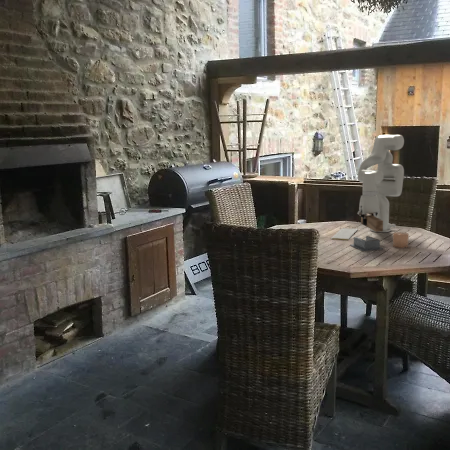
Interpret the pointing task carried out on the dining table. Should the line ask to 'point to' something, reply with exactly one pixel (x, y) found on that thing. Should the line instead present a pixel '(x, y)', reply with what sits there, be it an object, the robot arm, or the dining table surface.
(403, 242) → the brown round cylinder
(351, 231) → the baseboard molding
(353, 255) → the dining table surface
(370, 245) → the bracket
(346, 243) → the dining table surface
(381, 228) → the rail
